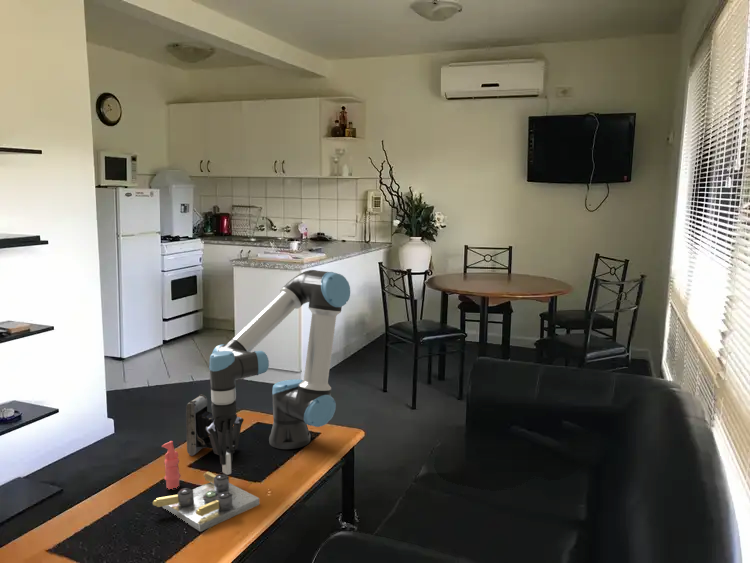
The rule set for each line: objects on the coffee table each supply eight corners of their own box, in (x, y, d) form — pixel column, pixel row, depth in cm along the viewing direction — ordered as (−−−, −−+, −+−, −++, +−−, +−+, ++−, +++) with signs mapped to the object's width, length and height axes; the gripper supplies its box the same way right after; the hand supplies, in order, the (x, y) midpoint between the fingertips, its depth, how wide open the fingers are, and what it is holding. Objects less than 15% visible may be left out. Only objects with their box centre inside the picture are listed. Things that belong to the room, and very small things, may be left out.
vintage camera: (226, 460, 217) (226, 405, 214) (185, 455, 220) (185, 401, 217) (238, 449, 226) (238, 396, 224) (198, 445, 229) (198, 393, 227)
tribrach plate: (220, 484, 198) (220, 471, 197) (259, 504, 184) (258, 491, 184) (162, 507, 183) (161, 494, 182) (200, 531, 170) (199, 517, 169)
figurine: (165, 492, 193) (162, 445, 191) (162, 485, 197) (160, 440, 195) (182, 488, 195) (180, 442, 193) (179, 481, 200) (177, 437, 198)
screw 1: (193, 497, 184) (192, 485, 183) (194, 504, 180) (193, 492, 179) (152, 505, 180) (151, 492, 180) (153, 512, 176) (152, 499, 175)
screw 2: (231, 487, 190) (231, 475, 190) (219, 492, 187) (219, 480, 187) (211, 476, 198) (210, 465, 197) (198, 481, 195) (198, 470, 194)
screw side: (226, 501, 182) (226, 489, 181) (235, 506, 179) (234, 493, 178) (192, 516, 173) (191, 503, 173) (201, 521, 171) (200, 508, 170)
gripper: (234, 393, 201) (237, 462, 205) (198, 403, 192) (202, 476, 195) (248, 398, 196) (250, 469, 200) (212, 409, 187) (216, 483, 190)
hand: (226, 472), depth 197 cm, fingers closed
